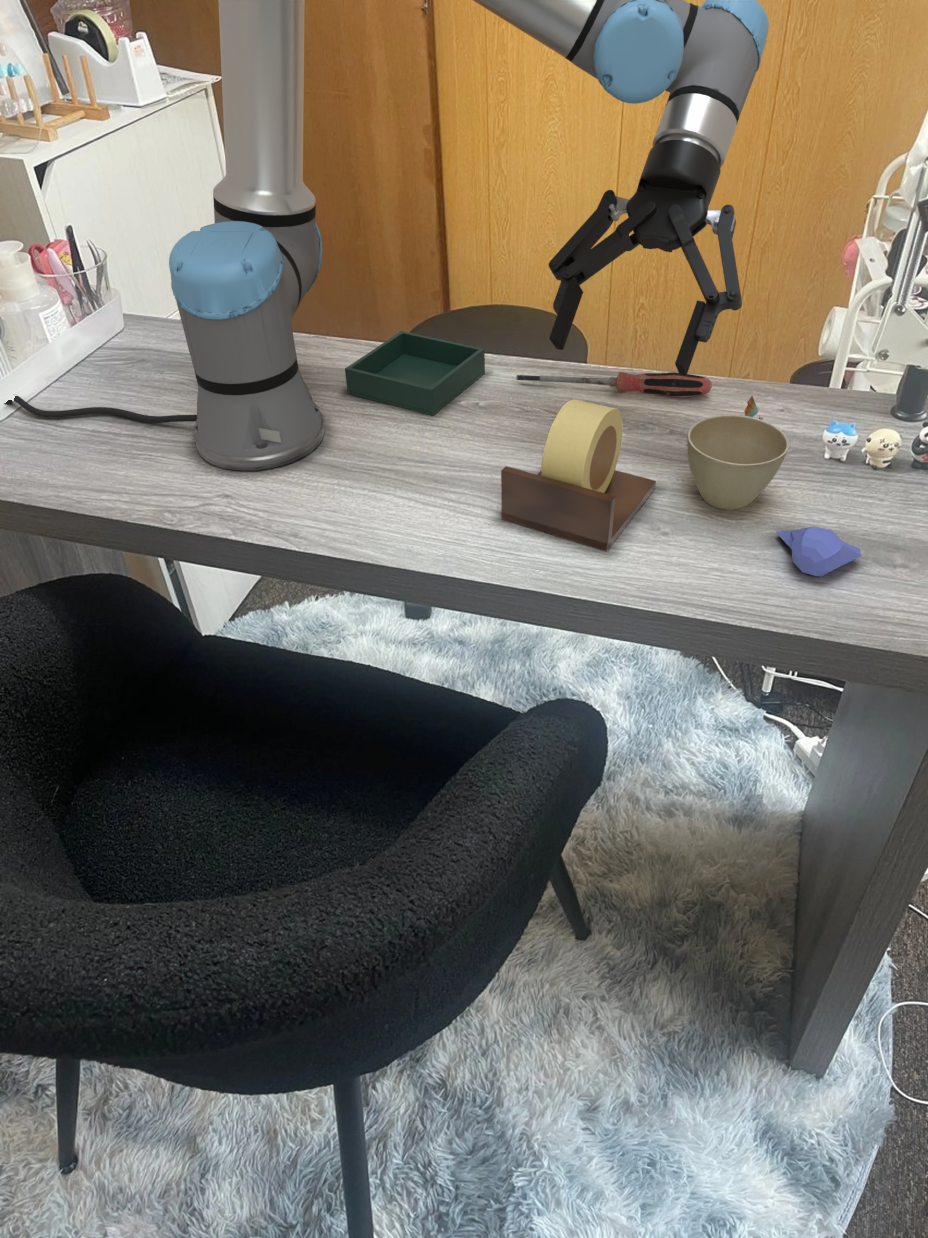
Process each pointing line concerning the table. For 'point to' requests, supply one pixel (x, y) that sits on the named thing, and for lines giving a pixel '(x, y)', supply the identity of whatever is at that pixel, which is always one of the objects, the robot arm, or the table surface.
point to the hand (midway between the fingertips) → (616, 356)
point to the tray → (415, 372)
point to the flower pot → (734, 458)
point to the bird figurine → (818, 550)
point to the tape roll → (583, 445)
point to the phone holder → (573, 505)
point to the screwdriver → (641, 383)
